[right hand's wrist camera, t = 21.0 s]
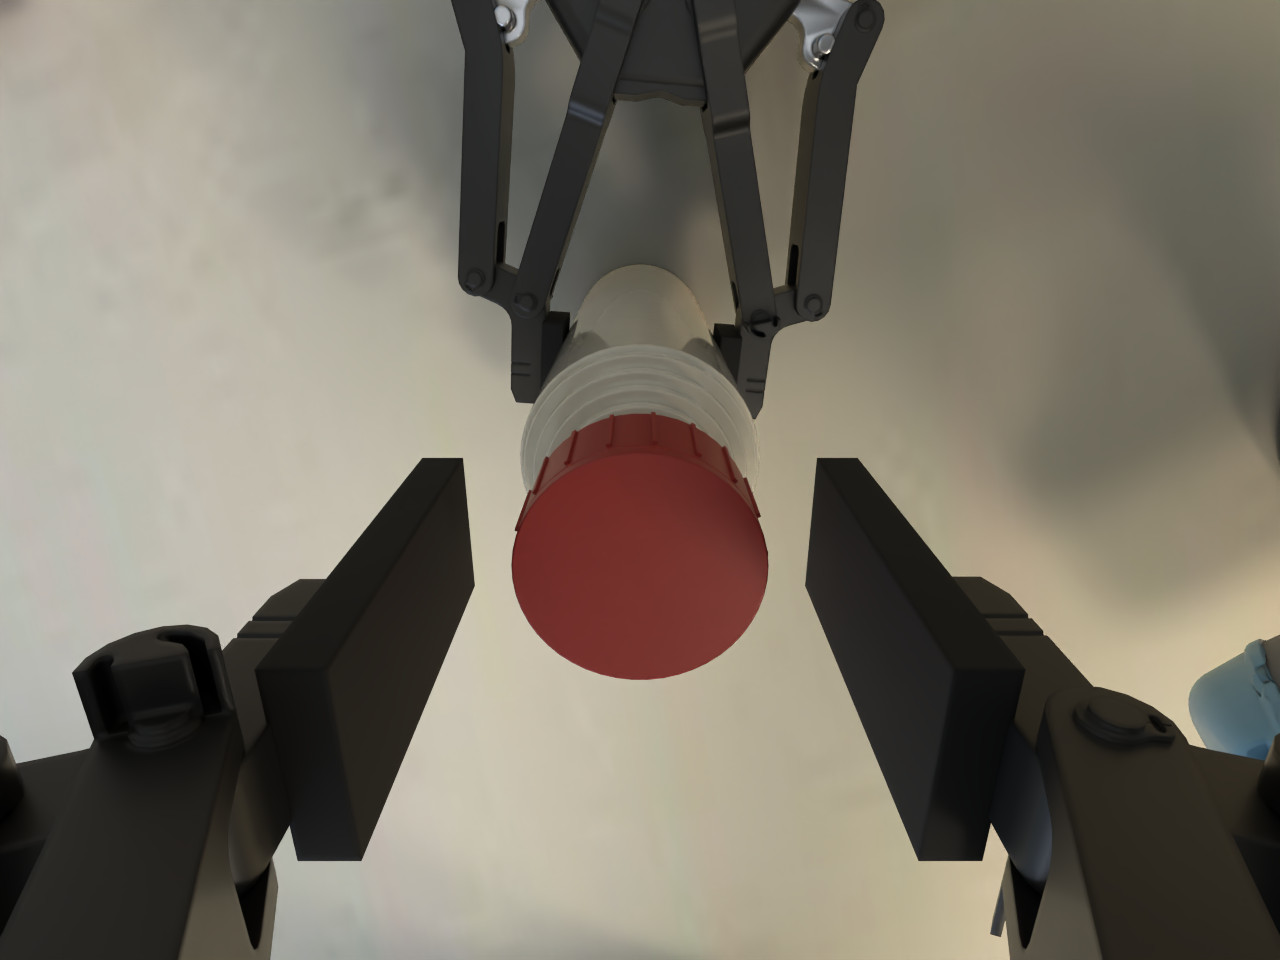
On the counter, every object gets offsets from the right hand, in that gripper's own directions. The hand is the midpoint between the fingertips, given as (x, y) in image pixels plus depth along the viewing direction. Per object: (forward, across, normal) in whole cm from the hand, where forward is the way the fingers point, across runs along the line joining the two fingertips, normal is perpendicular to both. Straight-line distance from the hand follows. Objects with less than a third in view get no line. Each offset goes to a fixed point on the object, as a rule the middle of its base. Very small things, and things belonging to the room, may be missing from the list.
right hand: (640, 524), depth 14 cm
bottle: (+21, 0, 0) cm, 21 cm away
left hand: (+15, 0, +5) cm, 16 cm away
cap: (-2, 0, 0) cm, 2 cm away
